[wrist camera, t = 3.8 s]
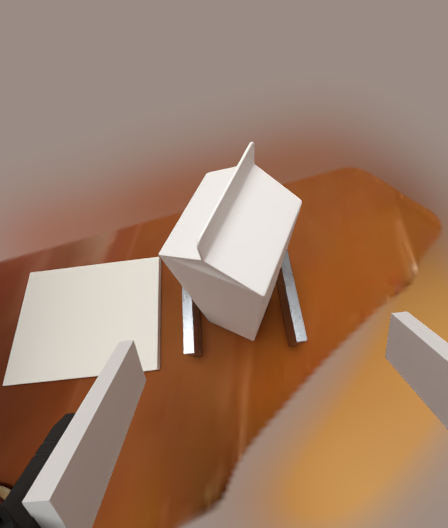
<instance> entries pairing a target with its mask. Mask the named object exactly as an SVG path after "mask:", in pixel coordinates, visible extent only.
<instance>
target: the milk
mask: <svg viewBox="0 0 448 528" xmlns="http://www.w3.org/2000/svg"><path fill="white" fill-rule="evenodd" d="M301 204H302V201H301V200H300V199H299V198H298V197H297V196H295V195H294V194H293V193H291V192H290V191H289V190H288V189H286V188H285V187H284V186H282V185H281V184H280V183H278V182H277V181H276V180H274V179H273V178H272V177H270V176H269V175H268V174H267V173H265V172H264V171H263V170H261V169H260V168H259V167H257V166H256V165H255V164H254V142H250V144H249V145H248V147H247V149H246V151H245V153H244V155H243V156H242V158H241V160H240V162H239V164H238V165H237V167H232V168H228V169H223V170H218V171H214V172H210V173H207V174H206V175H205V177H204V179H203V180H202V182H201V184H200V185H199V187H198V189H197V190H196V192H195V194H194V195H193V197H192V199H191V201H190V202H189V204H188V206H187V207H186V209H185V210H184V212H183V214H182V215H181V217H180V219H179V220H178V222H177V224H176V226H175V227H174V229H173V231H172V232H171V234H170V236H169V237H168V239H167V241H166V242H165V244H164V246H163V247H162V249H161V251H160V252H159V256H160V257H161V258H162V260H163V261H164V262H165V264H166V265H167V266H168V268H169V269H170V270H171V272H172V273H173V274H174V276H175V277H176V278H177V280H178V281H179V282H180V284H181V285H182V286H183V288H184V289H185V290H186V292H187V293H188V294H189V296H190V297H191V298H192V300H193V301H194V302H195V304H196V305H197V306H198V308H199V309H200V310H201V312H202V313H203V314H204V316H205V317H206V318H207V320H208V321H209V322H212V323H214V324H216V325H218V326H220V327H223V328H225V329H227V330H229V331H232V332H234V333H236V334H238V335H241V336H243V337H245V338H247V339H249V340H252V341H254V340H255V337H256V334H257V332H258V329H259V327H260V324H261V321H262V319H263V316H264V314H265V311H266V309H267V306H268V303H269V301H270V298H271V295H272V292H273V289H274V286H275V283H276V280H277V277H278V274H279V271H280V268H281V265H282V262H283V259H284V256H285V253H286V250H287V247H288V244H289V241H290V238H291V235H292V232H293V229H294V225H295V222H296V219H297V216H298V213H299V210H300V207H301Z"/></svg>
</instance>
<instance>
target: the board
mask: <svg viewBox="0 0 448 528" xmlns="http://www.w3.org/2000/svg"><path fill="white" fill-rule="evenodd" d="M160 328H161V259H160V258H159V257H154V258H145V259H137V260H129V261H121V262H113V263H105V264H97V265H88V266H80V267H72V268H64V269H56V270H48V271H40V272H32V273H30V276H29V280H28V284H27V288H26V292H25V296H24V300H23V304H22V309H21V313H20V317H19V321H18V325H17V329H16V333H15V337H14V341H13V345H12V349H11V353H10V357H9V362H8V366H7V370H6V374H5V378H4V382H3V386H7V385H18V384H27V383H37V382H46V381H56V380H65V379H75V378H84V377H94V376H99V374H100V373H101V371H102V369H103V368H104V366H105V364H106V363H107V361H108V359H109V358H110V356H111V354H112V353H113V351H114V350H115V348H116V346H117V345H118V343H119V342H121V341H130V340H134V343H135V346H136V349H137V353H138V356H139V359H140V362H141V366H142V369H143V371H151V370H160Z"/></svg>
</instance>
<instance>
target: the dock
mask: <svg viewBox="0 0 448 528" xmlns="http://www.w3.org/2000/svg"><path fill="white" fill-rule="evenodd" d="M276 283H277V288H278V293H279V298H280V303H281V309H282V314H283V319H284V324H285V329H286V335H287V340H288V345H289V347H290V346H298V345H300V344H302V343H304V342H306V341H307V336H306V332H305V327H304V323H303V318H302V314H301V310H300V305H299V301H298V296H297V292H296V287H295V283H294V278H293V274H292V269H291V265H290V260H289V256H288V251H287V250H286V253H285V256H284V259H283V262H282V265H281V268H280V271H279V274H278V277H277V280H276ZM182 299H183V337H184V354H186V355H190V356H193V357H196V356H202V339H201V320H200V309H199V308H198V306H197V305H196V304H195V302H194V301H193V300H192V298H191V297H190V296H189V294H188V293H187V292H186V290H185V289H184V288H183V286H182Z"/></svg>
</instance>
